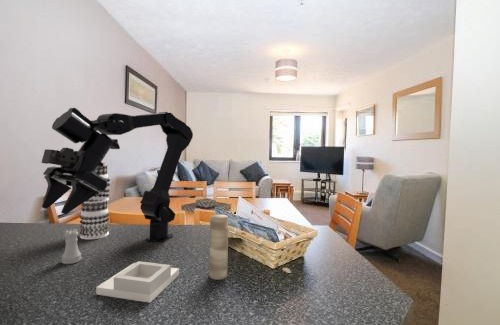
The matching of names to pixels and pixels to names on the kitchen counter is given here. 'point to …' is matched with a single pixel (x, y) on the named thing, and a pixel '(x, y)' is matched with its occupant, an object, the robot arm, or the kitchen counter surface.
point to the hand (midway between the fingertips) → (53, 210)
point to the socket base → (139, 281)
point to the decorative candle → (96, 212)
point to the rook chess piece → (71, 248)
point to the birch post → (218, 247)
